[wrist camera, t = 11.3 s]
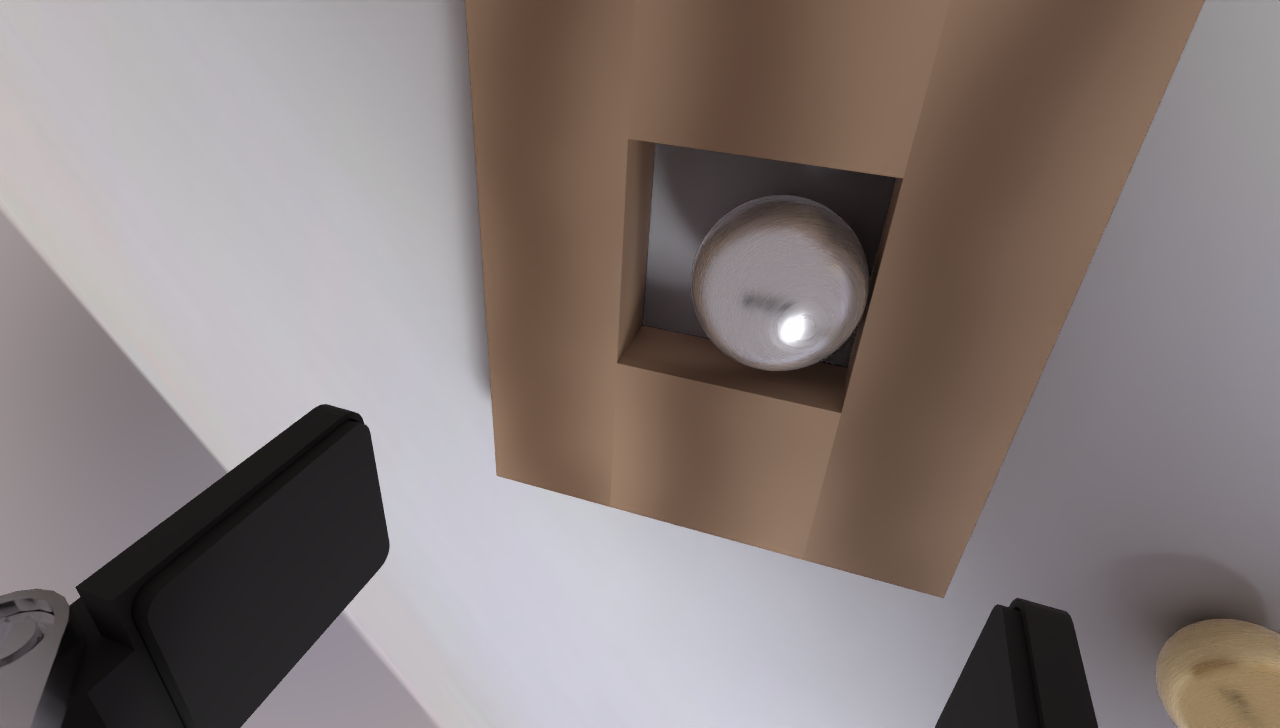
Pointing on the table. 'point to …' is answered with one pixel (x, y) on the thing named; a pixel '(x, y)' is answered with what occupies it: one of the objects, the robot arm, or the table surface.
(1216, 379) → the table surface
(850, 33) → the pocket plate
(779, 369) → the steel ball
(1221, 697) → the brass ball
